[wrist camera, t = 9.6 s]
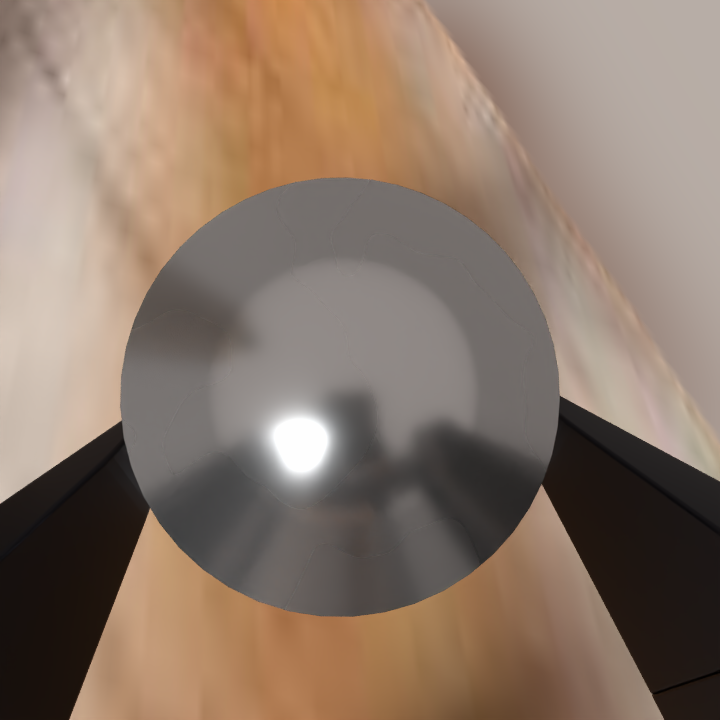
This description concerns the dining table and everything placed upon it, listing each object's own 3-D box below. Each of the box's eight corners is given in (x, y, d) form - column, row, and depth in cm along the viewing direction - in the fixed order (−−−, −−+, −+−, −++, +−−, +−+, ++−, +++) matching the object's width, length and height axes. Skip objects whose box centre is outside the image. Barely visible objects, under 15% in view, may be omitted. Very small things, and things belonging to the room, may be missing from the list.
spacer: (378, 461, 15) (525, 667, 3) (281, 437, 15) (44, 554, 3) (400, 365, 16) (583, 235, 4) (308, 342, 16) (206, 133, 4)
